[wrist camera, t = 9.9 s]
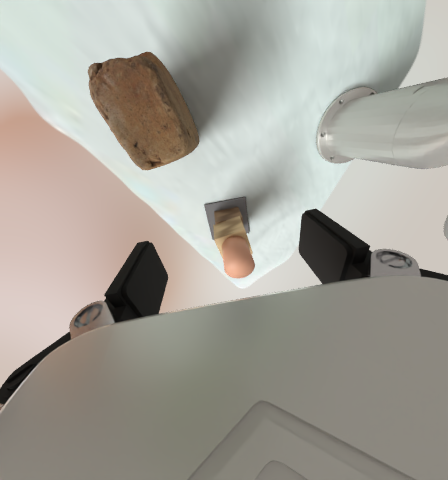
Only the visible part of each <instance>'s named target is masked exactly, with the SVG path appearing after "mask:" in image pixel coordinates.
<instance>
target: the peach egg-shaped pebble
mask: <svg viewBox="0 0 448 480" xmlns="http://www.w3.org/2000/svg"><path fill="white" fill-rule="evenodd" d="M222 253H223V261H224V268H225V272H226V274H227V275H229V276H230V277H233V278H243V277H246V276H248V275H249V274H251V273H252V271H253V270H254V267H255V264H254V260H253V258H252V255H251V252H250V249H249V247H248V244H247V241H246V240H245V239H244V238H243V237H241V236H230V237H228V238H227V239H225V240H224V242H223V244H222Z"/></svg>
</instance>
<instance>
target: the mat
mask: <svg viewBox="0 0 448 480" xmlns="http://www.w3.org/2000/svg"><path fill="white" fill-rule="evenodd" d="M204 206H205V210H206V214H207V218H208V222H209V227H210V231H211V235H212V239H213V240H214V228H213V225H215V216H214V211H219V210H224V209H230V208H235V207H238V208H239V210H240V212H241V215H242V218H243V226H244V228H245V231H246V233H249V227H248V217H247V207H246V198H245V197H242V198H237V199H231V200H226V201H221V202H216V203H211V204H206V205H204Z"/></svg>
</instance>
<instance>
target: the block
mask: <svg viewBox="0 0 448 480" xmlns="http://www.w3.org/2000/svg"><path fill="white" fill-rule="evenodd" d="M88 75H89V78H90V80H89V89H90V95H91V98H92V100H93V102H94V104H95V106H96V108H97V109H98V111H99V112H100V114H101V115H102V117H103V118H104V120H105V121H106V123H107V124H108V125H109V127H110V130H111V131H112V132H113V133H114V135H115V137H116V138H117V140H118V142H119V143H120V144H121V146H122V147H123V148H124V149H125V150H126V152H127V153H128V155H129V156H130V158H131V159H132V161H133V162H134V163H135V164H136V165H137V166H138V167H140V168H141V169H142V170H151V169H154V168H157V167H160V166H163V165H166V164H169V163H171V162H174V161H176V160H178V159H180V158H182V157H184V156H186V155H188V154H189V153H191V152H192V151H193V150H194V149H195V148H196V147H197V146H198V144H199V135H198V132H197V129H196V126H195V123H194V121H193V119H192V116H191V114H190V112H189V109H188V107H187V105H186V103H185V101H184V99H183V97H182V95H181V93H180V91H179V89H178V87H177V85H176V83H175V82H174V80H173V78H172V77H171V75H170V73H169V72H168V70H167V69H166V67H165V66H164V65H163V63H162V62H161V61H160V60H159V59H158V58H157V57H156V56H155V55H154V54H152V53H151V52H145V53H142V54H140V55H138V56H134V57H131V58H127V59H126V58H115V59H109V60H107V61H105V62H103V63H94V64H91V66H90V67H89V69H88Z"/></svg>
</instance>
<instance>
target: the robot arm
mask: <svg viewBox="0 0 448 480" xmlns="http://www.w3.org/2000/svg"><path fill="white" fill-rule="evenodd" d="M316 145H317V149H318V152H319V154H320V155H321V157H322V158H323V159H325V160H326V161H328V162H331V163H345V162H348V161H351V160H353V159H354V158H356V159H362V160H369V161H374V162H380V163H386V164H391V165H397V166H404V167H409V168H417V169H429V168H436V167H441V166H445V165H448V78H443V79H439V80H435V81H431V82H426V83H422V84H417V85H413V86H409V87H404V88H400V89H396V90H391V91H387V92H383V93H379V94H378V93H377V92H376V91H375V90H373V89H371V88H367V87H360V88H355V89H352V90H349V91H347V92H345V93H343V94H342V95H340V96H339V97H338V98H337V99H336V100H334V101H333V102H332V103H331V105H330V106H329V107H328V108H327V110H326V111H325V113H324V115H323V116H322V118H321V121H320V123H319V126H318V129H317V135H316ZM444 235H445V237H446V238H447V240H448V216H447V218H446V221H445V224H444ZM369 248H370V246H369V245H368V244H366V243H365V242H364V241H362V240H361V239H359V238H358V237H356V236H355V235H353V234H352V233H351V232H349V231H348V230H346V229H345V228H343V227H342V226H340V225H339V224H338V223H336V222H335V221H333V220H332V219H330V218H329V217H328V216H326V215H325V214H323V213H322V212H320V211H319V210H317V209H312V210H307V211H305V213H304V214H302V219H301V230H300V241H299V253H300V255H301V256H302V258H303V259H304V260H305V261H306V263H307V264H308V265H309V267H310V268H311V269H312V271H313V272H314V273H315V275H316V276H317V277H318V278H319V280H320V281H321V282H322V284H321V285H315V286H310V287H304V288H298V289H293V290H287V291H281V292H275V293H270V294H265V295H259V296H253V297H248V298H242V299H236V300H231V301H225V302H220V303H214V304H210V305H204V306H198V307H193V308H188V309H182V310H177V311H171V312H166V313H161V314H159V310H160V306H161V302H162V299H163V295H164V292H165V287H166V284H167V280H168V274H167V272H166V270H165V268H164V266H163V264H162V262H161V260H160V258H159V256H158V254H157V252H156V249H155V247H154V245H153V244H152V243H149V241H144V242H139V243H137V245H136V246H135V248H134V249H133V251H132V252H131V254H130V255H129V257H128V258H127V260H126V262H125V263H124V265H123V267H122V268H121V270H120V271H119V273H118V274H117V276H116V277H115V279H114V281H113V282H112V284H111V285H110V287H109V288H108V290H107V291H106V293H105V296H106V299H105V301H97V302H93V303H91V304H89V305H87V306H85V307H84V308H82V309H81V310H80V311H79V312H78V313H77V314H76V315H75V316H74V317H73V319H72V320H71V322H70V327H69V328H70V332H68V333H67V334H66V335H64V336H63V337H61V338H60V339H59V340H57V341H56V342H54V343H53V344H51V345H50V346H49V347H47V348H46V349H44V350H43V351H42V352H40V353H39V354H37V355H36V356H34V357H33V358H32V359H30V360H29V361H28V362H26V363H25V364H23V365H22V366H21V367H19V368H18V369H16V370H15V371H14V372H13V373H12V374H11V375H10V376H9V377H8V379H7V380H6V381H5V383H4V384H3V385H2V387H1V388H0V480H448V275H444V274H440V273H436V272H432V271H428V270H423V269H419V266H418V264H417V262H416V260H415V259H414V258H412V257H411V256H409V255H407V254H405V253H402V252H400V251H396V250H390V249H379V250H375V251H374V252H371V251H370V250H369Z"/></svg>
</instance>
